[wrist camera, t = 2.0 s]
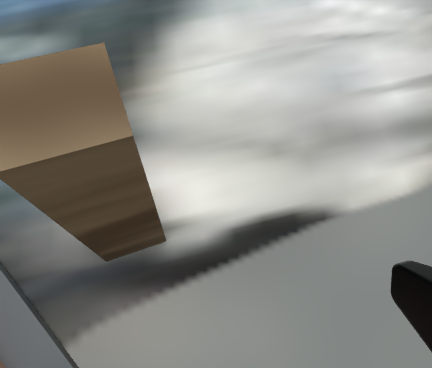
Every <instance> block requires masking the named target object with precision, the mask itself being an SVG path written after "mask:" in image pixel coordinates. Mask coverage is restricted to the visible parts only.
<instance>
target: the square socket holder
mask: <svg viewBox="0 0 432 368" xmlns="http://www.w3.org/2000/svg"><path fill="white" fill-rule="evenodd" d="M0 368H79V367H78V366H77V365H76V363H75V362H74V361H73V359H72V358H71V357H70V355H69V354H68V353H67V351H66V350H65V349H64V347H63V346H62V345H61V343H60V342H59V341H58V339H57V338H56V336H55V335H54V334H53V332H52V331H51V330H50V328H49V327H48V326H47V324H46V323H45V322H44V320H43V319H42V318H41V316H40V315H39V314H38V312H37V311H36V310H35V308H34V307H33V306H32V304H31V303H30V302H29V300H28V299H27V298H26V296H25V295H24V294H23V292H22V291H21V290H20V288H19V287H18V286H17V284H16V283H15V282H14V280H13V279H12V278H11V276H10V275H9V274H8V272H7V271H6V269H5V268H4V267H3V265H2V264H1V263H0Z"/></svg>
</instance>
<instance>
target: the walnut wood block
mask: <svg viewBox="0 0 432 368" xmlns="http://www.w3.org/2000/svg"><path fill="white" fill-rule="evenodd" d="M0 179H1V180H2V181H3V182H5V183H6V184H7V185H9V186H10V187H11V188H12V189H14V190H15V191H16V192H18V193H19V194H20V195H21V196H23V197H24V198H25V199H27V200H28V201H29V202H30V203H32V204H33V205H34V206H36V207H37V208H38V209H39V210H41V211H42V212H43V213H45V214H46V215H47V216H48V217H50V218H51V219H52V220H54V221H55V222H56V223H57V224H59V225H60V226H61V227H63V228H64V229H65V230H66V231H68V232H69V233H70V234H72V235H73V236H74V237H75V238H77V239H78V240H79V241H81V242H82V243H83V244H85V245H86V246H87V247H88V248H90V249H91V250H92V251H94V252H95V253H96V254H97V255H99V256H100V257H101V258H103V259H104V260H105V261H109V260H112V259H115V258H118V257H121V256H124V255H127V254H130V253H133V252H136V251H139V250H142V249H144V248H147V247H150V246H153V245H156V244H159V243H162V242H165V241H166V238H165V235H164V232H163V229H162V226H161V222H160V219H159V216H158V213H157V210H156V206H155V203H154V200H153V197H152V194H151V190H150V187H149V184H148V181H147V178H146V175H145V171H144V168H143V165H142V162H141V159H140V156H139V152H138V149H137V146H136V143H135V140H134V137H133V133H132V130H131V127H130V124H129V121H128V118H127V114H126V111H125V108H124V105H123V102H122V99H121V95H120V92H119V89H118V86H117V83H116V80H115V76H114V73H113V70H112V67H111V64H110V61H109V57H108V54H107V51H106V48H105V45H104V43H100V44H95V45H90V46H86V47H81V48H76V49H71V50H67V51H62V52H57V53H52V54H48V55H43V56H38V57H33V58H29V59H24V60H19V61H14V62H10V63H5V64H0Z"/></svg>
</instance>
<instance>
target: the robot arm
mask: <svg viewBox="0 0 432 368" xmlns="http://www.w3.org/2000/svg"><path fill="white" fill-rule="evenodd" d="M391 295H392V298H393V300H394V302H395V303H396V304H397V306H398V307H399V308H400V310H401V311H402V313H403V314H404V315H405V317H406V318H407V319H408V321H409V322H410V323H411V325H412V326H413V327H414V329H415V330H416V332H417V333H418V334H419V336H420V337H421V338H422V340H423V341H424V342H425V343H426V345H427V346H428V348H429V349H430V350H431V352H432V267H431V266H427V265H424V264H420V263H417V262H414V261H405V262H401V263H398V264H395V265H394V266H393V268H392V279H391Z"/></svg>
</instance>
